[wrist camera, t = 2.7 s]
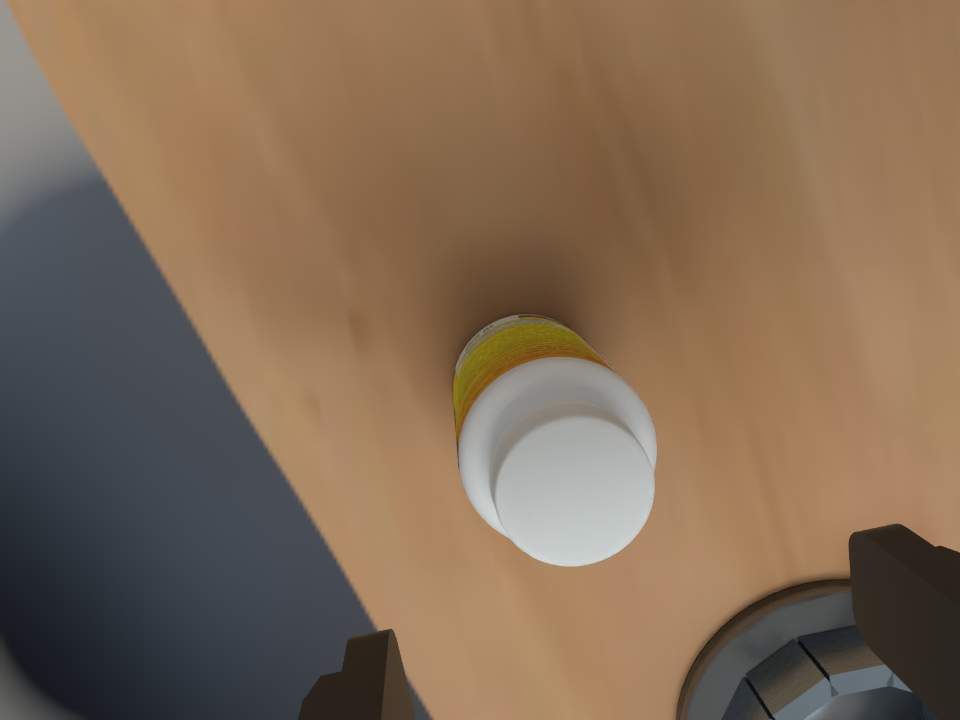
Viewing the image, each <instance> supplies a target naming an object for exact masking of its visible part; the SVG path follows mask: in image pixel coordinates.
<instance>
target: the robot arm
mask: <svg viewBox="0 0 960 720" xmlns="http://www.w3.org/2000/svg"><path fill="white" fill-rule="evenodd" d="M849 560H850V575H851V590H852V605H853V614H854V619H855V622H856V625H857V628H858V630H859V632H860V635H861V636H862V638H863V640H864V642H865V643H866V645H867V646H868V647H869V649H870V650H871V651H872V652H873V653H874V654H875V655H876V656H877V657H878V658H879V659H880V660H881V661H882V662H883V663H884V664H885V665H886V666H887V667H888V668H889V669H890V670H891V671H892V672H893V673H894V674H895V675H896V676H897V677H898V678H899V679H900V680H901V681H902V682H903V683H904V684H905V685H906V686H907V687H908V688H909V689H910V690H911V691H912V692H913V693H914V694H915V695H916V696H917V697H918V698H919V699H920V700H921V701H922V702H923V703H924V704H925V705H926V706H927V707H928V708H929V709H930V710H931V711H932V712H933V713H934V714H935V715H936V716H937V717H938V718H939V719H940V720H960V553H959V552H957V551H954V550H951V549H948V548H946V547H943V546H937V547H935V546H933V545H932V544H930V543H929V542H927V541H926V540H924V539H923V538H921V537H920V536H918V535H917V534H915V533H914V532H912V531H911V530H910V529H908V528H907V527H905V526H903V525H901V524H892V525H887V526H882V527H878V528H873V529H868V530H863V531H859V532H854V533H853V534H852V535H851V536H850V539H849ZM298 720H415V714H414V709H413V704H412V700H411V696H410V692H409V688H408V684H407V680H406V676H405V671H404V667H403V663H402V659H401V655H400V651H399V647H398V643H397V639H396V636H395V633H394V631H393V630H392V629H388V630H383V631H378V632H374V633H369V634H364V635H359V636H355V637H350V638H349V639H348V642H347V646H346V652H345V657H344V662H343V668H342V671H341V672H336V673H332V674H327V675H322V676H320V678H319V679H318V681H317V682H316V683H315V685H314V686H313V688H312V689H311V690H310V692H309V693H308V694H307V696H306V697H305V698H304V700H303V702H302V706H301V710H300V714H299V718H298Z"/></svg>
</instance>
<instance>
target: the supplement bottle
mask: <svg viewBox="0 0 960 720" xmlns="http://www.w3.org/2000/svg"><path fill="white" fill-rule="evenodd" d="M452 392H453V406H454V418H455V427H456V439H457V453H458V466H459V470H460V475H461V479H462V483H463V486H464V488H465V491H466V493H467V496H468V498H469V500H470V502H471V503H472V505H473V506H474V508H475V510H476V511H477V512H478V513H479V515H480V516H481V517H482V518H483V519H484V520H485V521H486V522H487V523H488V524H489V525H490V526H491V527H493V528H494V529H495V530H497V531H498V532H500V533H501V534H503V535H504V536H506V537H508V538H510V539H511V540H512V541H513V542H514V543H515V544H516V546H517V547H519V548H520V549H521V550H522V551H524V552H525V553H527V554H528V555H530V556H532V557H533V558H535V559H538V560H540V561H542V562H546V563H549V564H553V565H558V566H582V565H588V564H592V563H595V562H598V561H601V560H603V559H606V558H608V557H610V556H612V555H614V554H615V553H617V552H619V551H620V550H622V549H623V548H624V547H625V546H626V545H628V544H629V543H630V542H631V541H632V540H633V539H634V538H635V537H636V535H637V534H638V533H639V532H640V530H641V529H642V527H643V525H644V524H645V522H646V520H647V518H648V516H649V514H650V511H651V508H652V504H653V499H654V491H655V483H654V470H655V465H656V458H657V442H656V434H655V429H654V425H653V422H652V419H651V416H650V414H649V412H648V410H647V408H646V406H645V404H644V403H643V401H642V399H641V398H640V396H639V395H638V394H637V393H636V392H635V390H634V389H633V388H632V387H631V386H630V385H629V384H628V383H627V382H626V381H625V380H624V379H623V378H622V377H621V376H620V375H619V374H618V373H617V372H616V371H615V370H614V369H613V368H612V367H611V366H610V365H609V364H608V363H606V362H605V361H604V360H603V359H602V358H601V357H600V356H599V355H598V354H597V353H596V352H595V351H594V350H593V349H592V348H591V347H590V346H589V345H588V344H587V343H586V342H585V341H584V340H583V339H582V338H581V337H580V336H579V335H578V334H576V333H575V332H574V331H573V330H572V329H570V328H569V327H567V326H566V325H564V324H562V323H561V322H559V321H556V320H554V319H551V318H548V317H544V316H539V315H532V314H522V315H514V316H509V317H506V318H502V319H500V320H497V321H495V322H493V323H491V324H489V325H488V326H486V327H485V328H483V329H482V330H480V331H479V332H478V333H477V334H476V335H475V336H474V337H473V338H472V339H471V340H470V341H469V342H468V344H467V345H466V346H465V348H464V350H463V351H462V353H461V355H460V357H459V359H458V362H457V364H456V367H455V371H454V377H453V386H452Z"/></svg>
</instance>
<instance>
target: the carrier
mask: <svg viewBox="0 0 960 720" xmlns="http://www.w3.org/2000/svg"><path fill="white" fill-rule="evenodd" d="M677 720H940V719H939V718H938V717H937V716H936V715H935V714H934V713H933V712H932V711H931V710H930V709H929V708H928V707H927V706H926V705H925V704H924V703H923V702H922V701H921V700H920V699H919V698H918V697H917V696H916V695H915V694H914V693H913V692H912V691H911V690H910V689H909V688H908V687H907V686H906V685H905V684H904V683H903V682H902V681H901V680H900V679H899V678H898V677H897V676H896V675H895V674H894V673H893V672H892V671H891V670H890V669H889V668H888V667H887V666H886V665H885V664H884V663H883V662H882V661H881V660H880V659H879V658H878V657H877V656H876V655H875V654H874V653H873V652H872V651H871V650H870V649H869V647H868V646H867V645H866V643H865V642H864V640H863V638H862V636H861V635H860V632H859V630H858V628H857V625H856V622H855V619H854V614H853V605H852V590H851V580H827V581H820V582H813V583H807V584H803V585H799V586H796V587H792V588H788V589H786V590H783V591H781V592H778V593H775V594H773V595H770V596H768V597H766V598H765V599H763V600H761V601H759V602H757V603H755V604H753V605H751V606H750V607H748V608H747V609H745V610H744V611H742V612H741V613H739V614H738V615H737V616H735V617H734V618H733V619H732V620H731V621H729V622H728V623H727V624H726V625H725V626H723V627H722V628H721V629H720V630H719V631H718V632H717V634H716V635H715V636H714V637H713V638H712V639H711V640H710V641H709V642H708V643H707V645H706V646H705V647H704V649H703V650H702V652H701V653H700V654H699V656H698V657H697V659H696V660H695V662H694V664H693V666H692V668H691V669H690V671H689V673H688V675H687V678H686V680H685V683H684V685H683V688H682V691H681V695H680V699H679V703H678V710H677Z"/></svg>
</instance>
